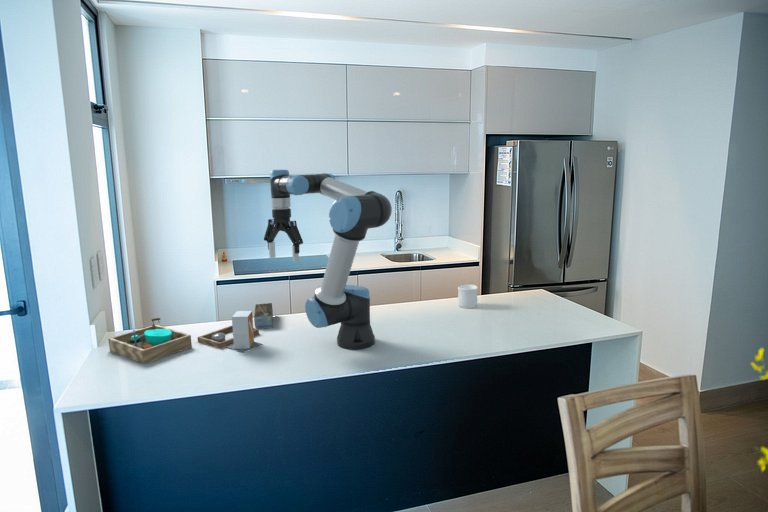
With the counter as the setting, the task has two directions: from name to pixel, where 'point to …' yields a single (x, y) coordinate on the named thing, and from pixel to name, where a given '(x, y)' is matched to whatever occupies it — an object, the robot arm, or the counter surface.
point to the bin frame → (206, 340)
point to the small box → (243, 329)
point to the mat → (254, 345)
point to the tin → (218, 337)
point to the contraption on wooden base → (151, 337)
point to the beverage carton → (263, 316)
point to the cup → (467, 296)
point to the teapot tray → (153, 353)
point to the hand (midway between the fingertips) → (284, 259)
